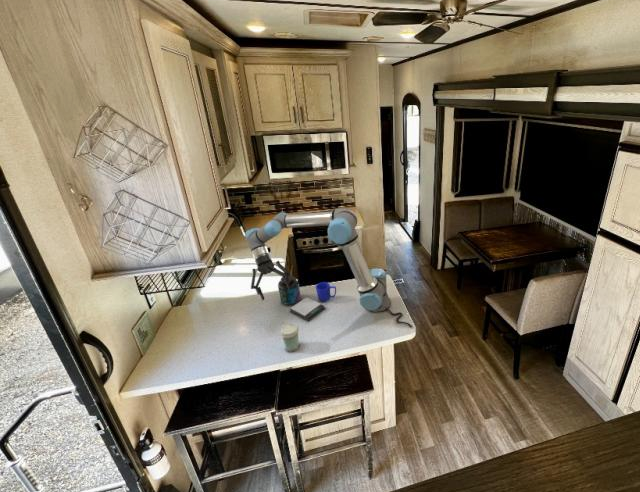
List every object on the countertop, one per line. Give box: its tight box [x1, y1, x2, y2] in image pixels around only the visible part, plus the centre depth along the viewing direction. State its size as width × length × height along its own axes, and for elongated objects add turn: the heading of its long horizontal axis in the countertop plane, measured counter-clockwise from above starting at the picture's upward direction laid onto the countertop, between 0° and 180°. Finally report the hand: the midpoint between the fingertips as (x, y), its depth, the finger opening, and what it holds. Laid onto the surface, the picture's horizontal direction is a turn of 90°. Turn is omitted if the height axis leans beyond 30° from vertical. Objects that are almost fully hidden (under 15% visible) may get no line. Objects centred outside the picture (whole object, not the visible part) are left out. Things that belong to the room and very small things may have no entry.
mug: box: [315, 281, 337, 303], centre depth 200 cm, size 8×12×10 cm
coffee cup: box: [280, 323, 300, 353], centre depth 164 cm, size 9×8×12 cm
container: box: [277, 274, 302, 307], centre depth 198 cm, size 12×12×17 cm
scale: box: [289, 297, 326, 322], centre depth 192 cm, size 15×13×3 cm
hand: (276, 294), depth 166 cm, fingers open, 13 cm apart
